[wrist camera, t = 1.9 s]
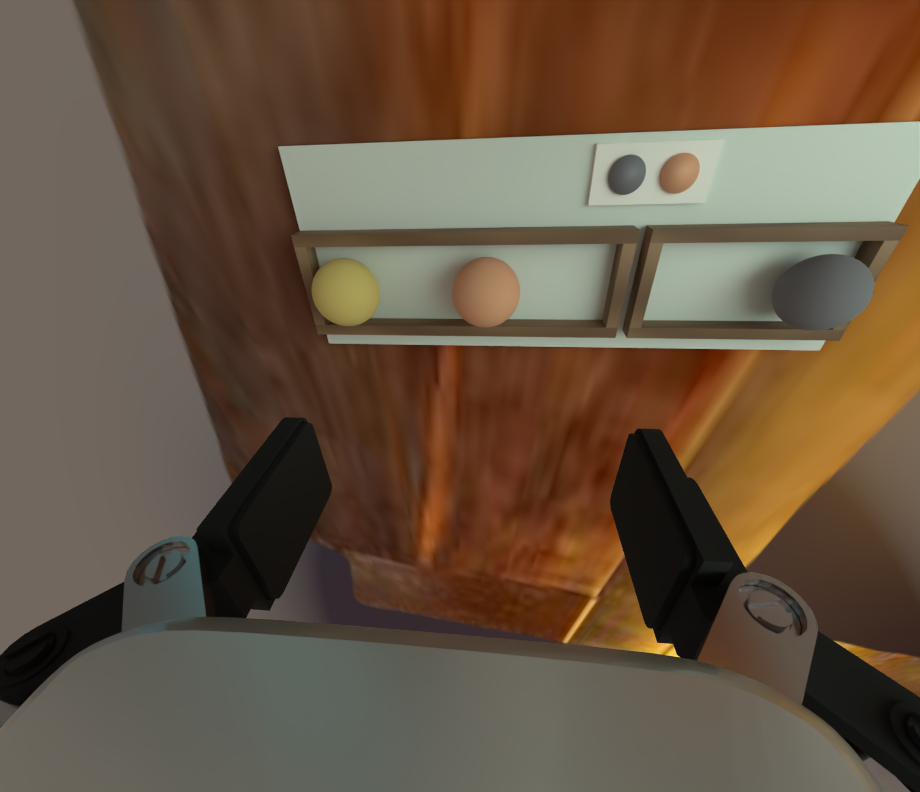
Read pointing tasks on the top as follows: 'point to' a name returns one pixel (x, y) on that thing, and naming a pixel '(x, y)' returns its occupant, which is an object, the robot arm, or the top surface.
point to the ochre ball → (345, 292)
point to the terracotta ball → (486, 292)
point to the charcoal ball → (823, 292)
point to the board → (603, 217)
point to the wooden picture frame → (476, 236)
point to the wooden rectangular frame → (872, 251)
